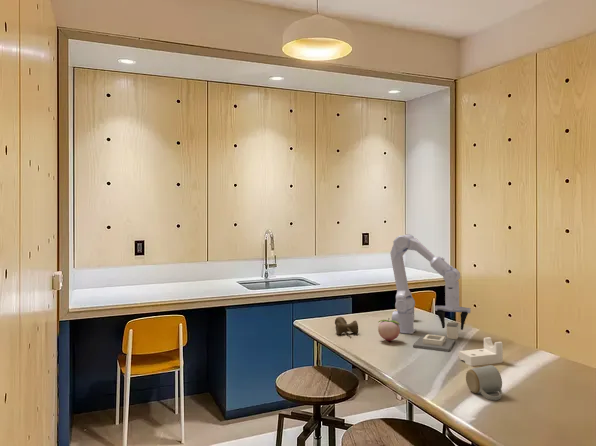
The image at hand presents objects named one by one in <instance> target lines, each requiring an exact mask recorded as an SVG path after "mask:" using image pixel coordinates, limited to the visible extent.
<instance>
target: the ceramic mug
mask: <svg viewBox="0 0 596 446" xmlns="http://www.w3.org/2000/svg"><path fill="white" fill-rule="evenodd" d="M465 382H466V385H467V388H468V389H469V390H470V391H471V392H472V393H473V394H481V395H482V396H483V397H484V398H486V399H487V400H490V401H498V400H500V399H501V398H502V396H503V390H502V388H503V380H502V376H501V373H500V371H499V370H498V368H497V367H496V366H494V365H493V364H488V365H484V366H480V367H473V368H470V369H469V370H467V371H466V373H465ZM489 393H499V395H492V394H491V395H490V394H489Z"/></svg>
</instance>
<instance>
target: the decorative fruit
mask: <svg viewBox="0 0 596 446" xmlns="http://www.w3.org/2000/svg"><path fill="white" fill-rule="evenodd" d="M378 323H379V324H378V326H377V327H378V328H377V331H378V334H379V337H380V338H381V339H383V340H385V341H387V342H392V341H394V340H395V339H397V338H398V337H399V336H400V334H401V333H400V327H399V325H400V324H399V323H398V322H397V321H394V320H392V319H391V320H390V318H389V317H388V319H380V320H379V321H378ZM398 324H399V325H398Z"/></svg>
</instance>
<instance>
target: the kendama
mask: <svg viewBox="0 0 596 446" xmlns="http://www.w3.org/2000/svg"><path fill="white" fill-rule="evenodd" d="M334 324H335V331H336V335H337V336H340V335H342V334H344V333H347V332H350V333H352V334H356V335H358V333H359V324H358V322H357V320H353V321H352V322H351V323H347V320H346V319H345V318H344V317H343V316H338V317H336V318H335V320H334Z"/></svg>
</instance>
